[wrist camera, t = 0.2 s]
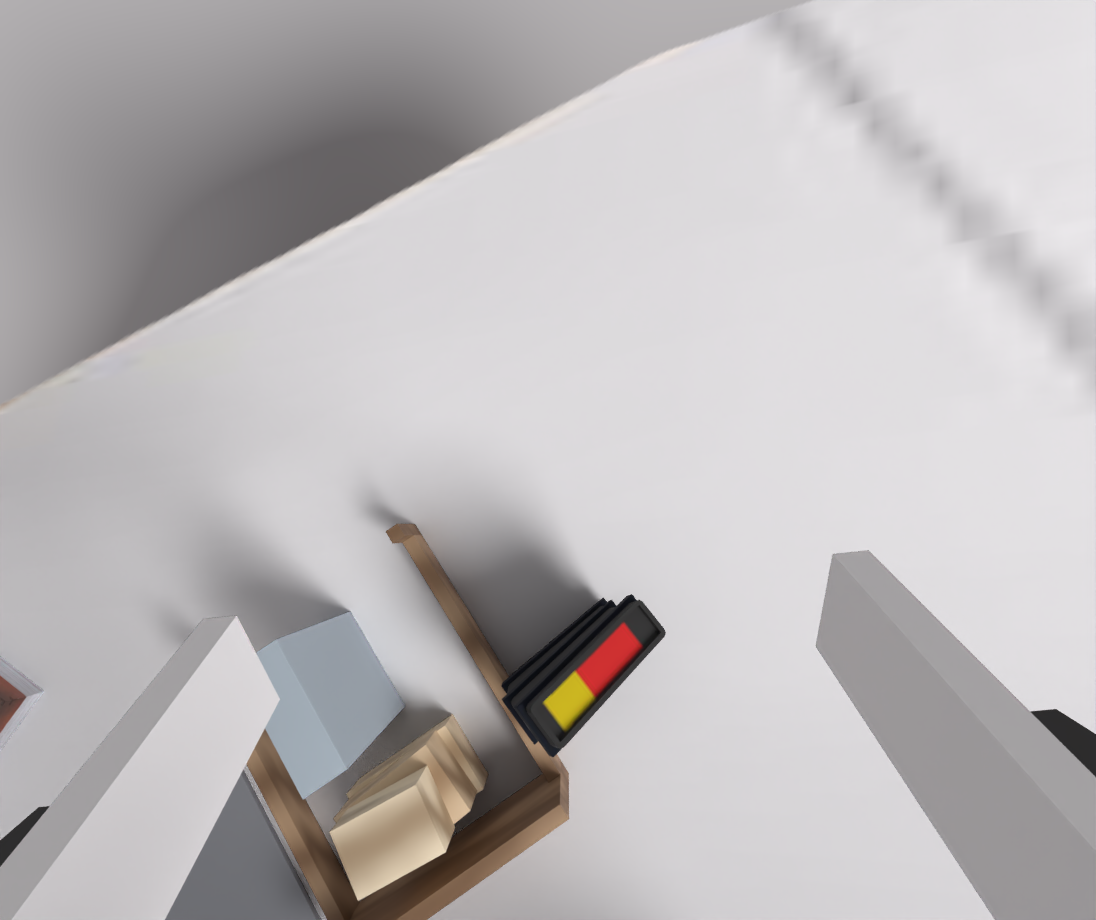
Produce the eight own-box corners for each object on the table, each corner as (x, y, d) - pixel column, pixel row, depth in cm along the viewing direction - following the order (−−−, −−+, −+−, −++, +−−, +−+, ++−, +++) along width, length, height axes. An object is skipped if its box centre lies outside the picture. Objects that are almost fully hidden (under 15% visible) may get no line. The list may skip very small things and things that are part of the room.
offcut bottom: (489, 771, 44) (483, 789, 41) (394, 838, 44) (382, 860, 41) (453, 712, 45) (445, 725, 42) (360, 776, 45) (346, 794, 42)
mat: (321, 921, 43) (319, 924, 42) (201, 1005, 42) (197, 1009, 42) (224, 734, 45) (221, 736, 45) (110, 811, 45) (106, 813, 44)
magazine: (476, 701, 43) (521, 707, 30) (580, 605, 49) (654, 576, 36) (502, 738, 43) (559, 760, 30) (604, 636, 49) (687, 617, 36)
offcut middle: (477, 790, 41) (470, 810, 38) (390, 861, 41) (376, 887, 38) (435, 729, 42) (425, 744, 39) (349, 798, 42) (333, 818, 39)
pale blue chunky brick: (405, 706, 45) (347, 769, 33) (372, 728, 45) (302, 799, 33) (350, 611, 46) (275, 639, 34) (318, 632, 46) (232, 668, 34)
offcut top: (455, 827, 38) (445, 852, 35) (374, 872, 38) (357, 901, 35) (427, 765, 39) (415, 784, 36) (347, 808, 39) (329, 832, 36)
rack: (568, 773, 44) (568, 818, 37) (354, 923, 43) (313, 999, 36) (415, 524, 47) (389, 523, 40) (214, 657, 46) (152, 679, 39)
